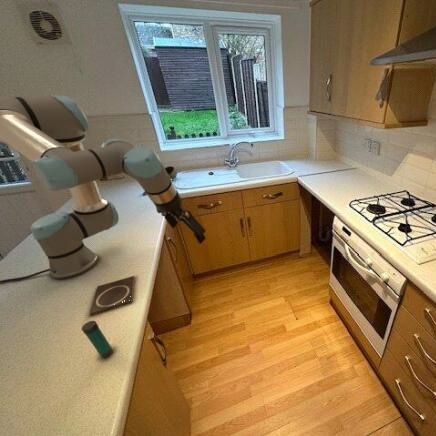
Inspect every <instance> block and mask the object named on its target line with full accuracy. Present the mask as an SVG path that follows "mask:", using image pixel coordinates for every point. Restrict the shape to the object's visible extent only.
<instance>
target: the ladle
mask: <svg viewBox="0 0 436 436" xmlns="http://www.w3.org/2000/svg"><path fill="white" fill-rule="evenodd" d="M164 168H165V170H166V172H167V173H168V175H169V177H170V179H172V181H173V180H175V179H176V178H177V175H178V172H177V170H176V169H175V167H174V166H171V165H170V166H167V167H164ZM142 196H147V194H146V193H145V191H143V193H142Z"/></svg>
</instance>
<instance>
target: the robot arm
mask: <svg viewBox="0 0 436 436" xmlns="http://www.w3.org/2000/svg"><path fill="white" fill-rule="evenodd" d="M89 129H90V124H89V121H88V119H87V117H86V115H85V113H84V112H83V110H82V108H81V107H80V105H78V104H77V102H75V101H74V99H72V98H70V97H69V96H66V95H52V94H49V95H48V94H47V95H28V96H27V95H25V96H5V97H1V98H0V143H1V144H5V145H8V146H10V147H11V148H13V149H15V150H16V151H17V152H19V153H20V154H21V155H23V156H24V157H26V158H27V159H28V160H29V161H31V162H32V168H33V170H34V172H35V174H36V176H37V177H38V179H39V180H40V182H41V183H42V185H44V186H45V187H46V188H47V189H49V190H51V191H54V192H55V191H61V190H66V189H69V192H70V194H71V196H72V198H73V200H74V203H73V204H72V206H71V207H72V210H73V212H70V213H69V212H66V211H56V212H52V213H49V214H46V215H44V216H42V217H40V218H38V219H37V220H35V221H34V222H33V223H32V224H31V226H30V232H31V235H32V236H33V239H34V240H35V241H36V242H37V243H38V245H39V246H40V248H41V250H42V251H43V252H44V254H45V255H46V257H47V260H48V266H49V268H47V269H44V270H41V271H37V272H35V273H32V274H29V275H25V276H21V277H14V278H6V279H1V280H0V284H2V283H7V282H14V281H20V280H25V279H29V278H32V277H35V276H38V275H41V274H43V273H44V274H45V273H47V272H49V273H50V275H51V277H52V278H54V279H57V280H62V279H64V280H65V279H69V278H73V277H77V276H79V275H81V274H83V273H86V272H87V271H89V270H91V269H92V268H93V267H94V266H95V265H97V263H98V261H99V258H98V256H97V254H96V253H95V252H94V251H93V250H92V249H90V248H89V247H88V246H86V245H85V243H84V241H83V240H85V239H88V238H90V237H93V236H95V235H98V234H99V233H102V232H104V231H107V230H110V229H111V228H113V227H115V226H117V225H118V223H119V220H120V219H119V213H118V210H117V209H116V206H115V205H114V204H113V203H112V201H109V200H107V198H105V197H103V196H102V195H101V191H100V190H99V187H98V184H97V181H98V180H102V179H103V180H104V179H106V178H109V177H113V176H117V175H121V174H125V175H127V176H129V177H130V178H132V179H134V180H135V181H136V182H137V183H138V184H139V185H140V187H141V188H142V189H143V192H145V193H146V196H147V197H148V198H149V200H150V201H151V202H152V203H153V205H154V206H155V209H156V212H157V213H158V214H161V216H162V217H164V219H165V221H166V222H167V223H168V225H169V226H170V227H171V228H172V229H174V228H175V227H176V226H177V225H178V224H179V222H181V223H183V224H184V225H185V226H186V227H187V228H188V229H189V230H191V231H192V232H193V233H192V234H193V237H195V239H196V240H197V242H198V244H199V245H201V244H202V243H203V242H204V241H205V240H206V236H205V233H206V229H205V228H204V227H203V226H202V224H201V223H200V222H199V221H198V220H197V218H196V217H195V216H193V214H192V213H191V211H190V210H185V209H184V207H183V206H182V202H183V200H182V197H181V194H180V193H179V192H178V190H177V188H176V187H175V184H174V183H173V180H172V179H170V177H169V175H168V173H167V172H166V170H165V168H166V167H165V166H164V164H163V162H162V160H161V158H160V157H159V155H158V154H157V153H156V151H155V150H154V149H152V147H148V146H134V144H132V143H130V142H128V141H125V140H123V139H120V138H109V139H107V140H105V141H104V142H103V143H102V144H101V145H100V146H99V147H93V148H88V149H85V147H84V145H83V143H84V141H85V139H86V135H85V132H87V131H89Z"/></svg>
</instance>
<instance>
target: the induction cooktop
mask: <svg viewBox="0 0 436 436" xmlns="http://www.w3.org/2000/svg"><path fill="white" fill-rule="evenodd" d="M135 283H136V276H135V275H132V276H129V277H125V278H122V279H118V280H114V281H111V282H108V283H104V284H101V285H97V287H96V289H95V294H94V296H93V301H92V304H91V307H90V311H89V316H95V315H97V314H101V313H104V312H107V311H110V310H114V309H116V308H119V307H122V306H125V305H128V304H131V303H133V300H134V291H135V290H134V289H135ZM130 296H131V297H130ZM124 300H125V302H124ZM129 300H130V301H129ZM122 301H123V303H122ZM114 304H115V305H114Z"/></svg>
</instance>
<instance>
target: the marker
mask: <svg viewBox="0 0 436 436" xmlns="http://www.w3.org/2000/svg"><path fill="white" fill-rule="evenodd" d="M81 331H82V332H83V334H84V335H85V336H86V337H87V339H88V340H89V342H90V344H92V346H93V347H94V348H95V350H96V352H97V353H98V354H99V356H100V357H101V359H107V358H109V357H110V356H111V355H113V353H114V349H113V348H112V346H111V344H110V343H109V341H108V339H107V338H106V336H105V335H104V333H103V332H102V330H101V328H100V327H99V325H98V323H97V322H96V320H89V321H87V322H85V323H84V324H83V325H82V326H81Z"/></svg>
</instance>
